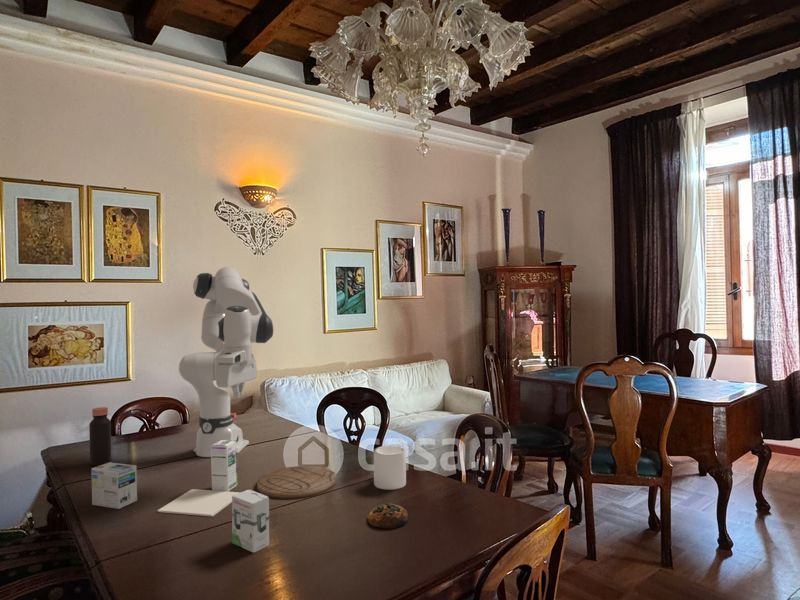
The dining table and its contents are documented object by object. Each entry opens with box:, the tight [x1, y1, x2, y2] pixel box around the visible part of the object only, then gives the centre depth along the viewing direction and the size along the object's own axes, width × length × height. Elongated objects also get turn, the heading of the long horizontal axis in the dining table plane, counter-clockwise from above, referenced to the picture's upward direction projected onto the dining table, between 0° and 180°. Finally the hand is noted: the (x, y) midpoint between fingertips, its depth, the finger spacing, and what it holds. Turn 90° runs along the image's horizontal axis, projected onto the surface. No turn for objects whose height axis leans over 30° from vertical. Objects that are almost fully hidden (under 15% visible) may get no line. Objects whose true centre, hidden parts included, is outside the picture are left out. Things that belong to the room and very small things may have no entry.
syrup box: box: [210, 440, 239, 492], centre depth 159 cm, size 6×6×14 cm
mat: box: [157, 488, 241, 517], centre depth 147 cm, size 16×17×1 cm
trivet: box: [256, 465, 338, 500], centre depth 162 cm, size 25×25×2 cm
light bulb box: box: [91, 461, 138, 510], centre depth 148 cm, size 11×7×11 cm, turn 71°
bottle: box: [88, 406, 112, 467], centre depth 185 cm, size 7×7×20 cm
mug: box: [373, 445, 407, 490], centre depth 163 cm, size 14×10×11 cm
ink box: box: [231, 489, 270, 553], centre depth 122 cm, size 9×5×12 cm, turn 54°
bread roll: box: [367, 503, 409, 529], centre depth 135 cm, size 11×11×5 cm
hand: (238, 396), depth 167 cm, fingers closed
